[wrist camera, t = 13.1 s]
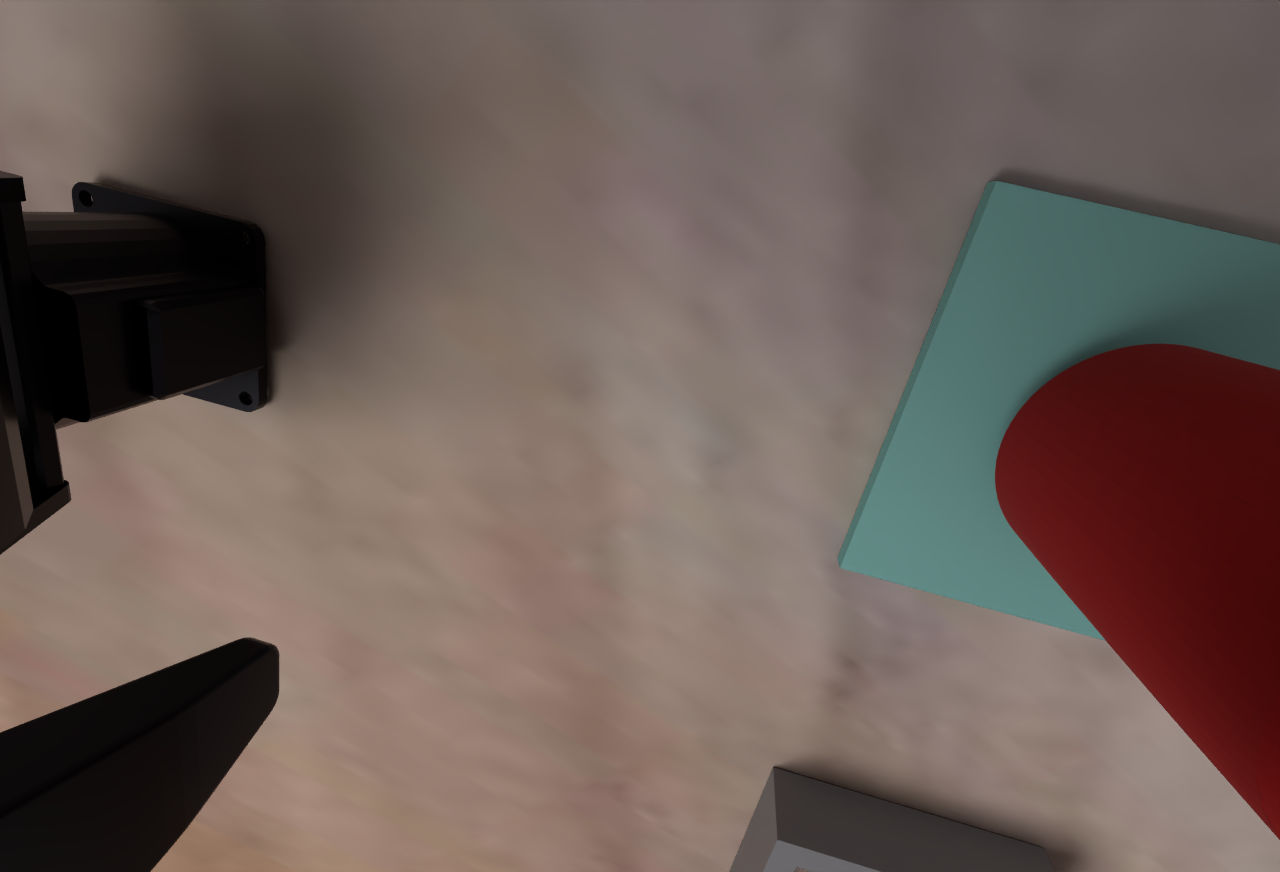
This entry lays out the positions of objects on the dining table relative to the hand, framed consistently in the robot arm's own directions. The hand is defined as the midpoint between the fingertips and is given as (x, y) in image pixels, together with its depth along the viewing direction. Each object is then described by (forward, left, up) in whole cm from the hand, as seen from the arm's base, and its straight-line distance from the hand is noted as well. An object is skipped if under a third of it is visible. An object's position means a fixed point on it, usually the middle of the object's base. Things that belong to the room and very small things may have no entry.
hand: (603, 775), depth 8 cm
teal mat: (+12, +3, -13) cm, 18 cm away
